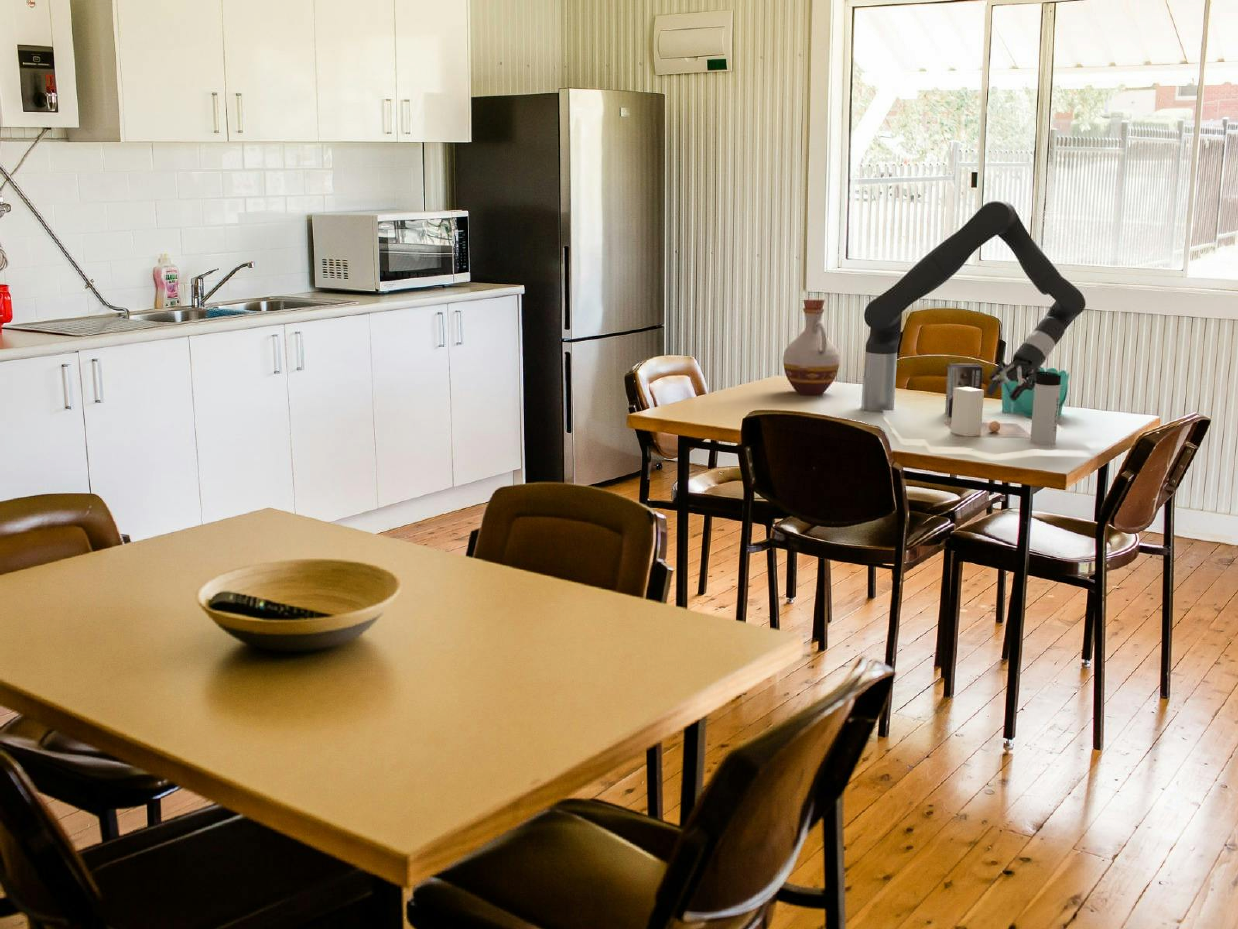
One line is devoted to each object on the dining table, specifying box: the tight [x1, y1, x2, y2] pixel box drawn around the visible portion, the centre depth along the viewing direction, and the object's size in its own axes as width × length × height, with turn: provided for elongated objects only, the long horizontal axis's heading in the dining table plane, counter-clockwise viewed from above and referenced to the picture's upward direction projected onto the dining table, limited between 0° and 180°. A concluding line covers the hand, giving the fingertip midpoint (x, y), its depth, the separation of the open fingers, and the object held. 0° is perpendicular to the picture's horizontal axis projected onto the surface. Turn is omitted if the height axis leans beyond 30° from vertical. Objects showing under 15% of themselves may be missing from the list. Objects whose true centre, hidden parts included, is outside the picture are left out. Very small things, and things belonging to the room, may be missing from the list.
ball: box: [989, 420, 1000, 432], centre depth 347 cm, size 3×3×3 cm
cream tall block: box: [950, 387, 985, 436], centre depth 344 cm, size 5×6×12 cm
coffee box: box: [944, 362, 984, 418], centre depth 370 cm, size 9×6×16 cm
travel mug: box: [1029, 370, 1061, 445], centre depth 335 cm, size 6×7×20 cm
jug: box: [782, 298, 841, 396], centre depth 409 cm, size 20×18×30 cm
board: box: [943, 421, 1031, 439], centre depth 351 cm, size 20×20×2 cm
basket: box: [1000, 366, 1070, 419], centre depth 382 cm, size 19×18×13 cm
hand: (999, 396), depth 349 cm, fingers open, 8 cm apart
